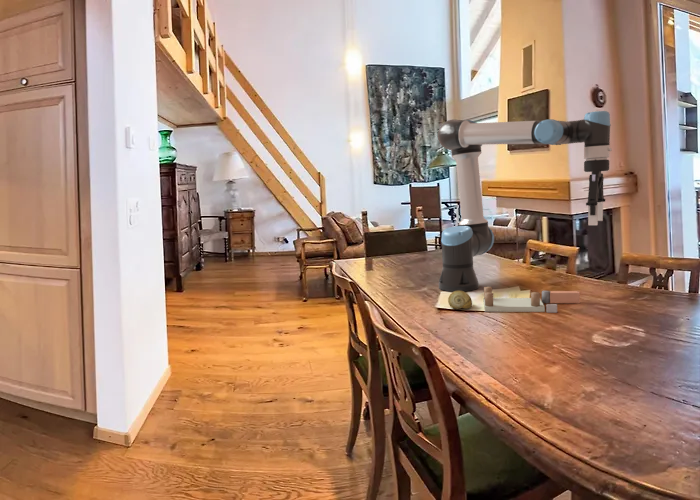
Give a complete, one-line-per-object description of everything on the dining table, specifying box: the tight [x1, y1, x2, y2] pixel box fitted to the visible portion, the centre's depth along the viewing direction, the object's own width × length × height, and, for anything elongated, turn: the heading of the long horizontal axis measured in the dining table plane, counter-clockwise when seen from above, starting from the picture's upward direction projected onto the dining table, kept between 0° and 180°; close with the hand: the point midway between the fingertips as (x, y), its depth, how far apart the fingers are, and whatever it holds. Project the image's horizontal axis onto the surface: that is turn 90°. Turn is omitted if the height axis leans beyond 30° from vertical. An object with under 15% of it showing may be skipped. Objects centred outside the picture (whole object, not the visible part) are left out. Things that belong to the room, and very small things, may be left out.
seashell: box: [447, 291, 473, 310], centre depth 161 cm, size 10×7×8 cm
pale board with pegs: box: [483, 286, 558, 314], centre depth 157 cm, size 22×12×6 cm, turn 76°
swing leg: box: [541, 290, 581, 304], centre depth 159 cm, size 11×3×4 cm, turn 76°
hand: (595, 223), depth 164 cm, fingers open, 13 cm apart
